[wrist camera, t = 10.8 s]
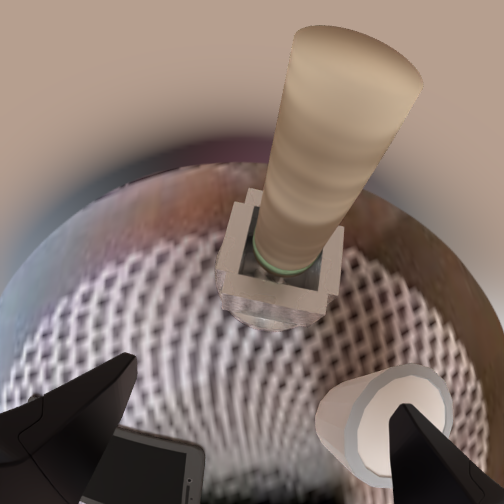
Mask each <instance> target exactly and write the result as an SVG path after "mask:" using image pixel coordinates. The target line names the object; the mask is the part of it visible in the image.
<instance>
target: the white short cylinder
mask: <svg viewBox="0 0 504 504" xmlns="http://www.w3.org/2000/svg"><path fill="white" fill-rule="evenodd" d="M402 403H410V404H412V405H414V406H415V407H416V408H417V409H418V410H419V411H420V412H421V413H422V414H423V415H424V416H425V417H426V418H427V419H428V420H429V421H430V422H431V423H432V424H433V425H434V426H435V427H436V428H438V429H439V430H440V431H441V432H442V433H443V434H444V435H445V436H446V437H447V438H449V435H450V431H451V428H452V424H453V400H452V398H451V395H450V393H449V390H448V388H447V385H446V383H445V381H444V380H443V379H442V378H441V377H440V376H439V375H438V374H437V373H436V372H435V371H434V370H433V369H432V368H429V367H425V366H422V365H418V364H415V363H409V364H404V365H399V366H394V367H390V368H387V369H384V370H381V371H378V372H375V373H371V374H368V375H365V376H361V377H358V378H355V379H351V380H347V381H344V382H342V383H340V384H339V385H337V386H335V387H333V388H332V389H330V390H329V392H328V393H327V394H326V395H325V396H324V398H323V399H322V400H321V401H320V404H319V407H318V409H317V412H316V415H315V428H316V433H317V435H318V437H319V439H320V441H321V443H322V444H323V445H324V446H325V447H326V448H327V449H328V450H329V451H330V452H331V453H332V454H333V455H334V456H335V457H336V458H337V459H338V460H339V461H340V462H341V463H342V464H343V465H344V466H345V467H346V468H347V469H348V470H349V471H350V472H351V473H352V474H353V475H354V476H356V477H357V478H359V479H360V480H362V481H363V482H365V483H366V484H368V485H369V486H371V487H378V488H393V485H392V475H391V466H390V454H389V419H390V417H391V416H392V414H393V413H394V412H395V410H396V409H397V408H398V406H399V405H400V404H402Z"/></svg>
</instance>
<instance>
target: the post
mask: <svg viewBox="0 0 504 504" xmlns="http://www.w3.org/2000/svg"><path fill="white" fill-rule="evenodd" d="M422 89H423V80H422V77H421V75H420V73H419V72H418V71H417V69H416V68H415V67H414V66H413V65H412V64H411V63H410V62H409V61H408V60H407V59H406V58H405V57H404V56H403V55H401V54H400V53H399V52H397V51H396V50H394V49H393V48H391V47H390V46H388V45H386V44H384V43H383V42H381V41H379V40H377V39H375V38H372V37H370V36H368V35H365V34H362V33H359V32H357V31H353V30H350V29H346V28H341V27H335V26H325V25H324V26H323V25H317V26H309V27H305V28H302V29H300V30H298V31H297V32H296V34H295V35H294V39H293V44H292V49H291V54H290V59H289V64H288V69H287V74H286V79H285V84H284V89H283V94H282V100H281V104H280V109H279V114H278V119H277V124H276V129H275V134H274V139H273V144H272V149H271V154H270V159H269V164H268V169H267V174H266V179H265V184H264V189H263V194H262V199H261V204H260V209H259V214H258V219H257V224H256V227H255V230H254V235H253V253H254V256H255V258H256V260H257V262H258V263H259V265H260V266H261V267H262V268H263V269H264V270H265V271H267V272H268V273H270V274H272V275H274V276H278V277H283V278H290V277H295V276H298V275H301V274H302V273H304V272H305V271H307V270H308V269H309V268H310V267H311V266H312V265H313V263H314V262H315V261H316V259H317V258H318V256H319V254H320V252H321V250H322V249H323V247H324V246H325V245H326V243H327V242H328V240H329V239H330V237H331V236H332V234H333V233H334V231H335V230H336V228H337V227H338V225H339V224H340V222H341V221H342V219H343V218H344V216H345V215H346V213H347V212H348V210H349V209H350V207H351V206H352V204H353V203H354V201H355V200H356V198H357V197H358V195H359V194H360V192H361V191H362V189H363V187H364V186H365V184H366V183H367V181H368V180H369V178H370V176H371V175H372V173H373V172H374V170H375V168H376V167H377V165H378V164H379V162H380V160H381V159H382V157H383V155H384V154H385V152H386V151H387V149H388V147H389V146H390V144H391V142H392V141H393V139H394V137H395V136H396V134H397V132H398V131H399V129H400V127H401V126H402V124H403V122H404V121H405V119H406V117H407V115H408V114H409V112H410V110H411V108H412V107H413V105H414V103H415V101H416V99H417V98H418V96H419V94H420V92H421V91H422Z"/></svg>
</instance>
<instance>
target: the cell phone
mask: <svg viewBox="0 0 504 504" xmlns="http://www.w3.org/2000/svg"><path fill="white" fill-rule="evenodd" d="M36 398H38V397H30V398H29V399H28V402H30V401H32V400H34V399H36ZM204 466H205V454H204V451H203V450H202V449H201V448H200V447H197V446H194V445H189V444H185V443H181V442H177V441H172V440H167V439H162V438H158V437H154V436H149V435H145V434H141V433H138V432H134V431H130V430H127V429H123V428H120V427H117V428H116V430H115V432H114V433H113V435H112V437H111V439H110V441H109V443H108V445H107V447H106V449H105V451H104V453H103V455H102V457H101V459H100V461H99V463H98V465H97V467H96V469H95V471H94V473H93V475H92V477H91V479H90V481H89V483H88V485H87V487H86V489H85V491H84V493H83V495H82V497H81V499H80V501H81V502H84V503H86V504H200V500H201V492H202V483H203V474H204Z"/></svg>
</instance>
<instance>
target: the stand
mask: <svg viewBox="0 0 504 504" xmlns="http://www.w3.org/2000/svg"><path fill="white" fill-rule="evenodd" d="M262 194H263V191H262V190H257V189H252V188H248V192H247V196H246V199H245V203H240V202H234V205H233V209H232V212H231V216H230V219H229V223H228V226H227V230H226V233H225V237H224V241H223V244H222V246H221V248H220V250H219V252H218V255H217V258H216V263H215V280H216V287H217V291H218V294H219V297H220V299H221V301H222V309H223V310H227V311H228V312H229V313H230V314H231V315H232V316H233V317H234V318H236V319H237V320H238V321H240V322H241V323H243V324H245V325H246V326H248V327H251V328H253V329H256V330H260V331H266V332H281V331H286V330H290V329H293V328H295V327H298V326H303V327H309V326H310V325H311V324H313V323H314V322H316V321H317V320H319V319H320V318H322V317H323V316H324V315H325V314H326V307H327V304H329V303H330V302H331V301H332V300H334V299H335V298H336V297H337V296H338V294H339V285H340V275H341V264H342V252H343V239H344V227H342V226H339V225H338V227H337V228H336V230H335V231H334V233H333V234H332V236H331V237H330V239H329V240H328V242H327V243H326V245H325V246H324V247H323V249H322V250H321V252H320V254H319V256H318V258H317V259H316V261H315V262H314V263H313V265H312V266H311V267H310V268H309V269H308V270H307V271H305V272H304V273H302V274H301V275H298V276H295V277H290V278H283V277H278V276H274V275H272V274H270V273H268V272H267V271H265V270H264V269H263V268H262V267H261V266H260V265H259V263H258V262H257V260H256V258H255V256H254V253H253V235H254V230H255V227H256V224H257V219H258V214H259V209H260V204H261V199H262Z"/></svg>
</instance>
